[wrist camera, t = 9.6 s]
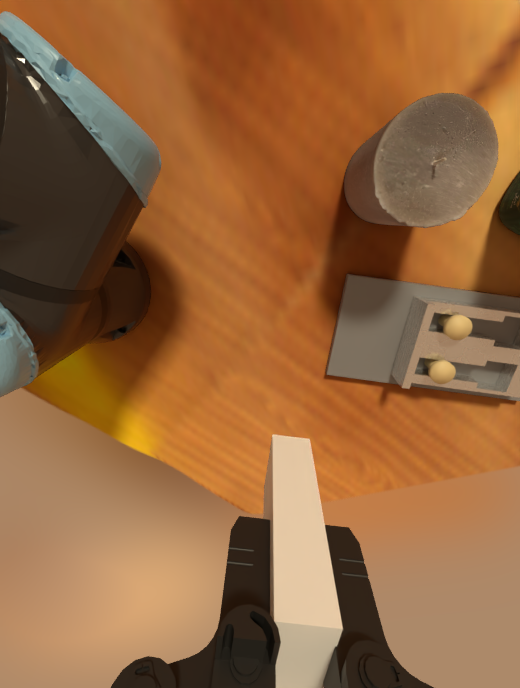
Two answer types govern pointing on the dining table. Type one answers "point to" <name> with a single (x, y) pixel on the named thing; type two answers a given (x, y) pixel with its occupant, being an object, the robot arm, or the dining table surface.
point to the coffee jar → (511, 207)
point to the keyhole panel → (456, 348)
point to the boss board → (388, 326)
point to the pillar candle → (424, 164)
